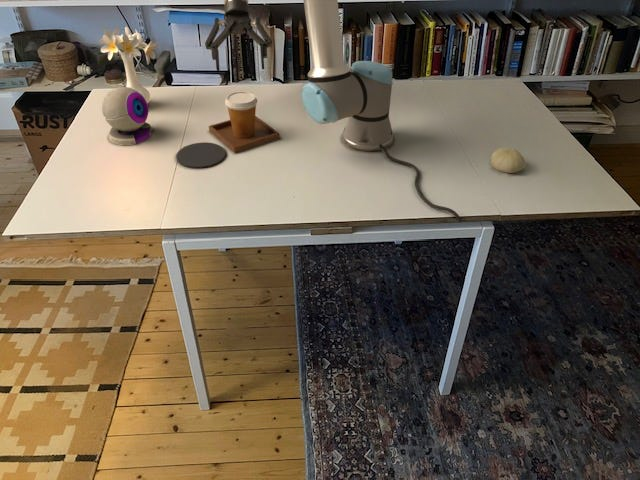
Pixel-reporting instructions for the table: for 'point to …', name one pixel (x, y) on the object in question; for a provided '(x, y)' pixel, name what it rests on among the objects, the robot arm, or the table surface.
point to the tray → (261, 136)
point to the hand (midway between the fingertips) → (240, 67)
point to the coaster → (200, 155)
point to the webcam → (126, 116)
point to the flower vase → (128, 54)
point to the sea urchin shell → (507, 160)
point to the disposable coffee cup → (242, 113)
